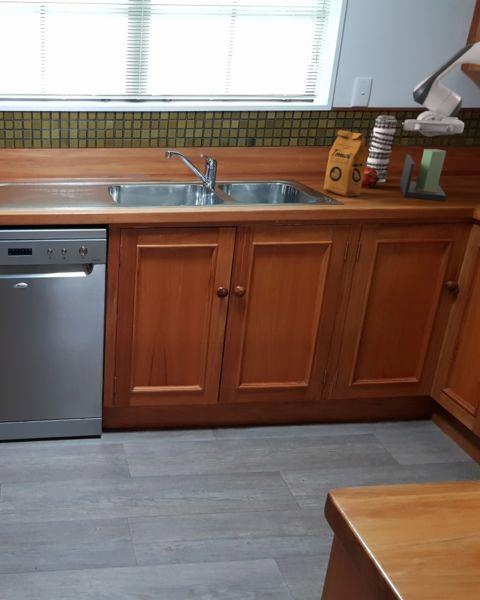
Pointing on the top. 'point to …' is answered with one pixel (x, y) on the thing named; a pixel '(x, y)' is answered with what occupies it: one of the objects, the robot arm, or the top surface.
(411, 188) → the grey l-shaped bracket
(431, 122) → the robot arm
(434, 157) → the carton
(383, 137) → the decorative candle
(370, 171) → the dragon fruit
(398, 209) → the top surface
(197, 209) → the top surface
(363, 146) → the coffee package
